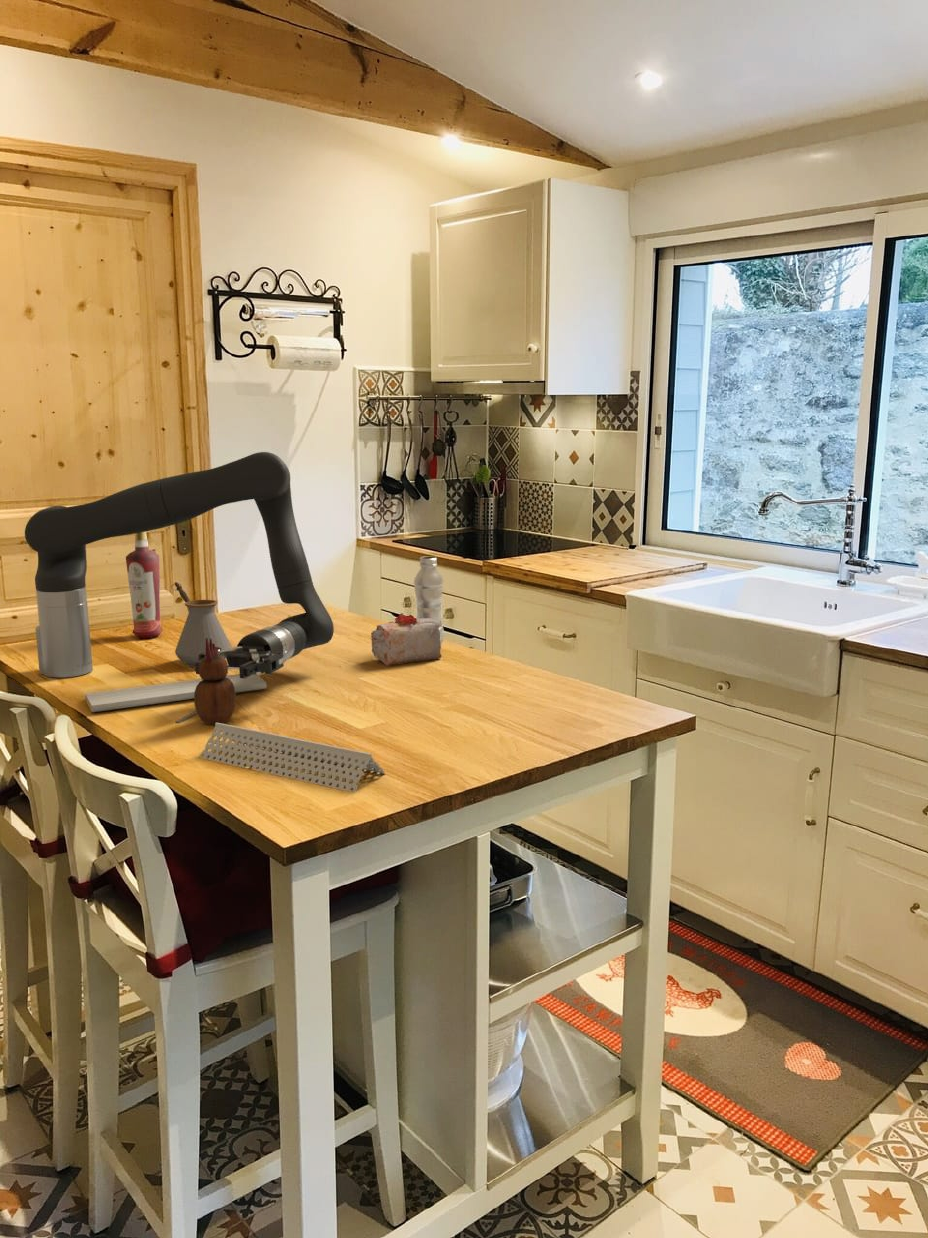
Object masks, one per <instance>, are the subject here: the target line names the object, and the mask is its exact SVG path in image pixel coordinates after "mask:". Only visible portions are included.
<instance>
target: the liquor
mask: <svg viewBox="0 0 928 1238" xmlns="http://www.w3.org/2000/svg"><path fill="white" fill-rule="evenodd" d="M134 536H135V541H134V542H135V543H134V550H133V551H131V552H130V553H128V554H127V555H126V556H125V565H126V571H127V573H126V574H127V581H128V585H129V586H128V587H129V595H130V602H131V603H130V604H131V611H132V621H133V630H132V634H133V635H135V637H136V638H138V639H141V640H145V639H146V640H149V639H156V638H158V637H159V636H160V635H161V634H162V633H163V631H164V629H163V627H162V621H161V590H160V589H161V587H160V586H161V585H160V583H161V581H160V579H161V576H160V575H161V574H160V573H161V572H160V554H158V553H156V551H153V550H150V549H149V548H150V547H149V543H148V537H147V531H146V532H141V533H135V534H134ZM155 637H156V638H155Z"/></svg>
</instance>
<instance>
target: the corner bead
mask: <svg viewBox="0 0 928 1238" xmlns="http://www.w3.org/2000/svg"><path fill="white" fill-rule="evenodd" d="M215 737H216V738H215ZM214 738H215V739H214ZM227 740H228V741H227ZM226 741H227V742H226ZM232 742H233V743H232ZM238 743H239V744H238ZM245 744H246V745H245ZM208 750H210V751H208ZM215 751H216V752H215ZM221 752H222V753H221ZM251 752H252V753H251ZM220 753H221V754H220ZM233 755H234V756H233ZM239 756H240V757H239ZM238 757H239V758H238ZM245 758H246V759H245ZM199 759H203V760H207V761H208V760H209V761H213V762H218V763H222V764H227V765H231V766H234V767H235V766H236V767H240V768H244V767H250V768H252V769H256V770H255V771H257V770H259V771H258V772H261V771H263V772H262V773H266V772H267V773H266V774H270V773H271V775H275V776H281V777H283V778H289V779H293V780H298V781H303V782H307V783H311V784H316V785H321V786H324V787H330V788H333V789H338V790H343V791H347V792H352V793H356V791H357V789H358V785H357V784H358V782H359V781H360V780H361V778H362V777H363V774H364V770H366V771H367V772H374V773H377V774H378V773H379V774H380V775H381V774H382V775H386V771H384V769H383V768H382V766H381V767H380V764H379V763H378V762H377V761H375V760H374V758H373V755H372V753H368V752H365V751H359V750H355V749H349V748H345V747H339V746H335V745H330V744H327V743H326V744H325V743H320V742H315V741H309V740H305V739H300V738H295V737H290V736H285V735H282V734H281V735H280V734H275V733H269V732H266V731H260V730H256V729H250V728H245V727H241V726H236V725H229V724H226V723H222V724H221V723H215V725H214V728H213V730H212V733H211V735H210V737H209V738H208V740H207V742H206V744H205V746H204V750H203V751H201V753H200V756H199ZM251 759H253V760H251ZM250 760H251V761H250ZM258 760H259V761H258ZM264 762H265V763H264ZM270 763H272V764H271V765H269V764H270ZM277 764H278V766H276V765H277ZM283 766H284V767H283ZM342 766H343V767H342ZM282 767H283V768H282ZM290 767H291V769H289V768H290ZM252 769H251V770H252ZM296 769H298V770H296ZM303 770H304V772H302V771H303ZM310 771H311V773H310V774H309V772H310ZM317 772H318V775H316V774H317ZM323 774H324V777H323ZM330 776H332V777H331V778H329V777H330ZM337 778H338V780H336V779H337ZM344 779H345V781H343V780H344ZM351 781H353V782H352V783H350V782H351Z"/></svg>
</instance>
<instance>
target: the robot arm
mask: <svg viewBox="0 0 928 1238" xmlns="http://www.w3.org/2000/svg"><path fill="white" fill-rule="evenodd" d="M291 489H292V488H291V472H290V469H289V468H288V466H287V464H286V463H285V461H283V460H282V458H281V457H279V456H278V455H277V454H275V453H272V452H269V451H259V452H255V453H254V452H253V453H252V454H250V455H247V456H244V457H242V458H239V459H237V460H234V461H230V462H228V463H225V464H222V465H220V466H217V467H214V468H210V469H204V470H198V471H193V472H188V473H183V474H177V475H172V476H168V477H162V478H158V479H154V480H151V481H147V482H144V483H141V484H138V485H133V486H132V487H128V488H126V489H122V490H120V491H118V492H115V493H112V494H110V495H108V496H105V497H103V498H101V499H98V500H94V501H92V502H88V503H84V504H78V505H72V506H64V505H54V506H53V505H52V506H49V507H46V508H43V509H41V510H39V511H36V512H35V513H34V514H33V515H32V516H31V517H30V518H29V519H28V521H27V523H26V525H25V528H24V538H25V542H26V543H27V544H28V546H29V548H31V550H33V551H35V552H36V553H37V559H38V560H37V568H36V572H35V575H34V585H35V595H36V606H37V613H38V614H37V616H38V625H39V626H36V627H35V629H34V630H35V638H36V649H37V659H38V669H39V670H38V671H39V674H40V675H44V676H46V677H49V678H73V677H78V676H83V675H86V674H90V673H91V672H92V671H93V670H94V669H93V668H94V667H93V658H92V657H93V655H92V643H91V631H90V630H91V629H90V619H89V609H88V608H89V607H88V600H87V599H88V597H87V587H86V585H87V584H86V575H87V567H88V566H87V563H88V562H87V561H88V560H87V545H90V544H92V543H94V542H97V541H101V540H105V539H110V538H115V537H116V538H117V537H122V536H129V535H135V533H141V532H146V533H147V532H149V531H155V530H160V529H163V528H168V527H171V526H175V525H178V524H181V523H184V522H187V521H189V520H192V519H195V518H196V517H198V516H201V515H204V514H205V513H207V512H209V511H211V510H213V509H216V508H218V507H222V506H224V505H228V504H232V503H239V502H244V501H249V500H250V501H251V500H254V503H255V504H256V507H257V509H258V511H259V513H260V516H261V519H262V522H263V525H264V529H265V533H266V538H267V545H268V546H267V547H268V552H269V558H270V564H271V567H272V572H273V573H272V574H273V576H274V580H275V583H276V587H277V591H278V595H279V598H280V600H281V602H282V603H284V604H287V605H289V604H290V605H291V604H298V605H299V606H300V607H302V609H303V610H304V612H303V613H299V614H295V615H293V616H292V615H291V616H289V617H285V618H283V619H282V620H281V621H279V623H276V624H273V625H272V626H267V627H263V628H261V629H258V630H256V631H253V632H251V633H249V634H247V635H245V636H243V637H242V638H241V639H240V640H239V642H238V644H237V645H236V646H233V647H232V649H227V650H221V648H219V647H217V649H218V654H219V657H223V658H224V659H225V660H226V661H227V664H228V671H230V670H237V671H238V670H239V672H238V674H240V678H242V679H245V678H247V677H249V676H251V675H253V674H256V675H257V676H259V675H263V674H265V675H269V676H270V675H272V674H273V673H275V672H277V671H278V670H280V669H282V668H284V666H285V662H287V661H288V660H290V659H292V658H294V657H295V656H298V655H299V654H300V653H301V652H302V651H303V650H307V649H311V648H314V647H317V646H318V647H319V646H322V645H325V644H328V643H329V642H330V641H331V640H332V638H333V636H334V632H335V630H334V629H335V627H334V622H333V619H332V617H331V615H330V613H329V611H328V610H327V608H326V606H325V605H324V602H322V600H321V598H320V596H319V594H318V592H317V590H316V588H315V586H314V583H313V578H312V574H311V570H310V568H309V564H308V561H307V557H306V554H305V553H306V552H305V551H304V547H303V545H302V541H301V537H300V534H299V531H298V528H297V523H296V519H295V514H294V509H293V502H292V491H291ZM198 657H199V661H198V662H196V663H195V667H194V671H195V675H199V664H200V662H201V660H202V659H204V658H206V652H203V653H200V654H198Z"/></svg>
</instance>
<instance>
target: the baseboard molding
mask: <svg viewBox="0 0 928 1238" xmlns="http://www.w3.org/2000/svg"><path fill="white" fill-rule="evenodd" d="M261 676H262V677H263V678H265V676H264V675H263V674H261ZM226 677H227V678H229V679H230V680H231V681H232V683H233V685H234V688H235V693H237V694H238V693H244V692H252V691H259V690H265V689H267V687H268V686H267V684H268V683H267V681H266V680H264V679H263V678H261V677H260V676H259V675H256V674H253V675H251V676H249V677H247V678H245V679H242V678H240V673H235V674H229V675H228V674H227V676H226ZM202 680H203V679H202V678H197V679H188V680H183V681H182V680H180V681H175V682H173V681H172V682H167V683H166V682H165V683H158V684H157V683H156V684H150V685H142V686H135V687H128V688H118V689H112V690H104V691H95V692H88V693H84V701H85V702H86V704H87V706H88V707H89V710H90V711H91V713H97V712H106V711H111V710H119V709H127V708H128V709H129V708H134V707H142V706H150V705H156V704H164V703H171V702H177V701H186V700H193V699H194V693H195V689H196V686H197V685H198V684H199V682H200V681H202Z"/></svg>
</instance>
